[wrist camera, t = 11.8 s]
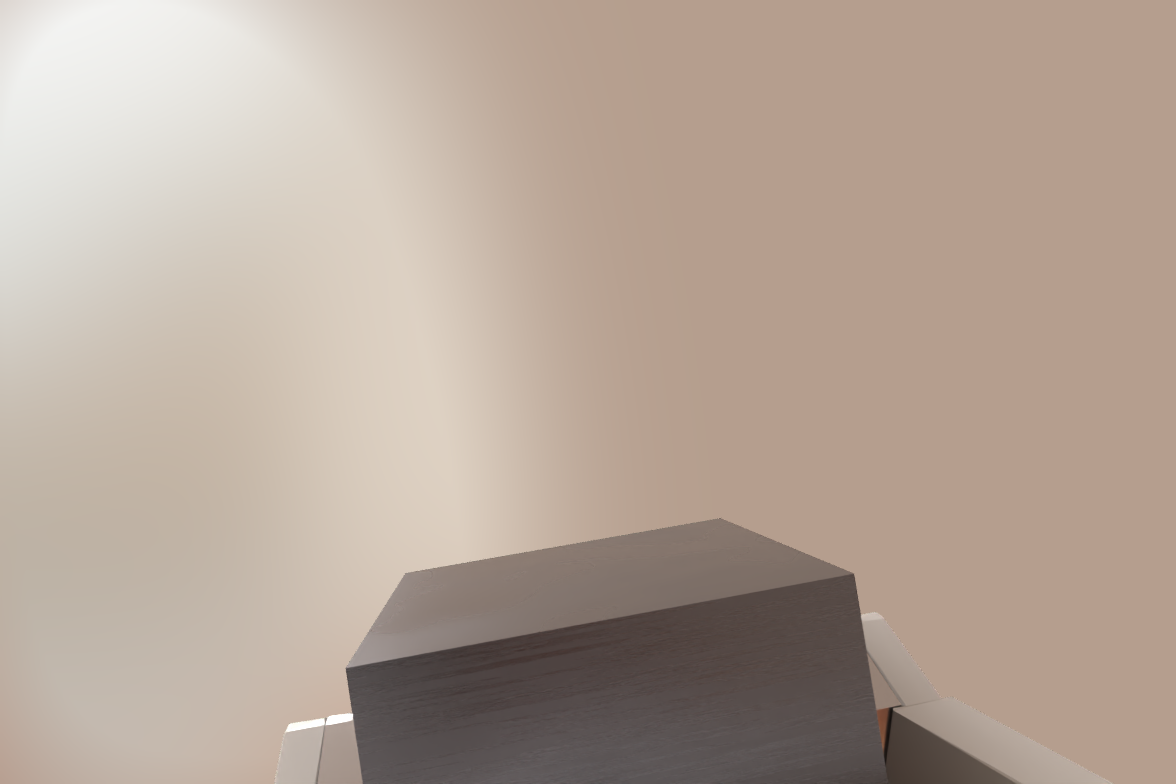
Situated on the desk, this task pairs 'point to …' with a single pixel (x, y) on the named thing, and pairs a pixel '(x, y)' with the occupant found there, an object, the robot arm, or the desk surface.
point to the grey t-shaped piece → (621, 668)
